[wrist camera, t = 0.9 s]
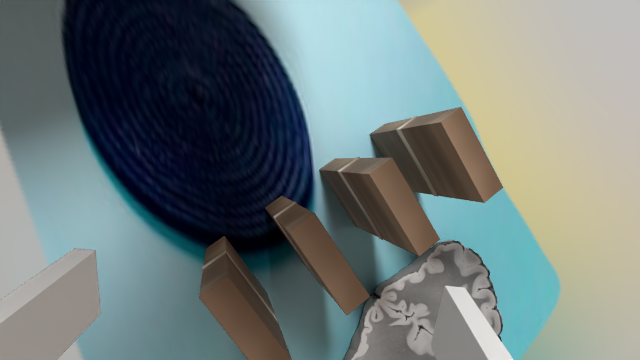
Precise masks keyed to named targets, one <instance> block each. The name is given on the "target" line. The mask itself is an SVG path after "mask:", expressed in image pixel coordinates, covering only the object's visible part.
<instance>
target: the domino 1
mask: <svg viewBox="0 0 640 360" xmlns="http://www.w3.org/2000/svg"><path fill="white" fill-rule="evenodd" d="M202 270H203V274H202V281H201V289H200V296H199V298H200V300H201V301H202V302H203V303H204V305H205V306H206V307H207V308H208V310H209V311H210V312H211V313H212V315H213V316H214V317H215V318H216V320H217V321H218V322H219V323H220V325H221V326H222V327H223V329H224V330H225V331H226V332H227V334H228V335H229V336H230V337H231V339H232V340H233V341H234V342H235V344H236V345H237V346H238V347H239V349H240V350H241V351H242V352H243V354H244V355H245V356H246V357H247V359H248V360H292V359H291V357H290V354H289V351H288V349H287V346H286V343H285V341H284V338H283V335H282V332H281V330H280V327H279V324H278V320H277V318H276V316H275V314H274V311H273V308H272V306H271V303H270V300H269V298H268V295H267V293H266V291H265V290H264V289H263V287H262V286H261V285H260V283H259V282H258V280H257V279H256V278H255V276H254V275H253V274H252V272H251V271H250V270H249V268H248V267H247V266H246V264H245V263H244V262H243V260H242V259H241V258H240V256H239V255H238V253H237V252H236V251H235V249H234V248H233V247H232V245H231V244H230V243H229V241H228V240H227V239H226V237H225V236H224V237H222V238H221V239H219V240H218V241H216V242H215V243H214V244H212V245H211V246H209V247H208V248H206V252H205V259H204V266H203V267H202Z"/></svg>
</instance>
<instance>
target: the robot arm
mask: <svg viewBox="0 0 640 360" xmlns="http://www.w3.org/2000/svg"><path fill="white" fill-rule="evenodd" d="M100 314H101V312H100V300H99V288H98V275H97V263H96V250H86V249H76V248H74V249H73V250H72V251H70V252H69V253H67V254H66V255H64V256H63V257H61V258H60V259H59V260H57V261H56V262H54V263H53V264H51V265H50V266H48V267H47V268H46V269H44V270H43V271H42V272H40V273H39V274H37V275H35V276H34V277H33V278H31V279H30V280H28V281H27V282H25V283H24V284H22V285H21V286H20V287H18V288H17V289H15V290H14V291H12V292H11V293H10V294H8V295H7V296H5V297H4V298H2V299H1V300H0V360H57V359H58V358H59V357H60V356H61V355H62V354H63V353H64V352H65V351H66V350H67V349H68V348H69V347H70V346H71V345H72V343H73V342H74V341H75V340H76V339H77V338H78V337H79V336H80V335H81V334H82V333H83V332H84V331H85V330H86V328H87V327H88V326H89V325H90V324H91V323H92V322H93V321H94V320H95V319H96V318H97V317H98V316H99V315H100ZM431 348H432V350H433V353H434V355H435V358H436V360H513V358H512V357H511V355H510V354H509V352H508V351H507V349H506V348H505V346H504V345H503V344H502V342H501V341H500V339H499V338H498V336H497V335H496V333H495V332H494V330H493V329H492V327H491V326H490V324H489V323H488V321H487V320H486V318H485V317H484V315H483V314H482V312H481V311H480V309H479V308H478V307H477V305H476V304H475V302H474V301H473V299H472V298H471V296H470V295H469V293H468V292H467V290H466V289H465V288H463V287H453V286H445V287H444V291H443V296H442V300H441V304H440V308H439V312H438V316H437V320H436V324H435V329H434V333H433V337H432V341H431Z"/></svg>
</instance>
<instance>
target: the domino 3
mask: <svg viewBox="0 0 640 360" xmlns="http://www.w3.org/2000/svg"><path fill="white" fill-rule="evenodd" d="M320 172H321V173H322V175H323V177H324V178H325V180H326V181H327V183H328V184H329V186H330V187H331V189H332V191H333V192H334V194H335V195H336V197H337V198H338V200H339V201H340V203H341V205H342V206H343V208H344V209H345V211H346V212H347V214H348V216H349V217H350V219H351V220H352V222H353V223H354V225H355V226H356V227H358V228H361V229H363V230H365V231H367V232H369V233H371V234H373V235H375V236H377V237H379V238H380V239H382V240H383V239H384V240H386V241H388V242H390V243H392V244H394V245H396V246H399V247H401V248H403V249H405V250H407V251H409V252H411V253H413V254H415V255H418V256H420V255H422V254H423V253H424V252H425V251H427V250H428V249H429V248H430V247H431V246H433V245H434V244H435V243H436V242H437V241H439V240H440V238H439V237H438V235H437V233H436V231H435V230H434V228H433V226H432V225H431V223H430V221H429V219H428V218H427V216H426V214H425V213H424V211H423V209H422V208H421V206H420V204H419V202H418V201H417V199H416V197H415V196H414V194H413V192H412V190H411V189H410V187H409V185H408V184H407V182H406V180H405V178H404V177H403V175H402V173H401V172H400V170H399V168H398V167H397V165H396V163H395V161H394V160H393V158H360V157H357V158H343V159H334V160H332V161H331V162H330V163H328V164H327V165H325V166H324V167H322V168H321V169H320Z"/></svg>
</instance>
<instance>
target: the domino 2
mask: <svg viewBox="0 0 640 360" xmlns="http://www.w3.org/2000/svg"><path fill="white" fill-rule="evenodd" d="M265 209H266V210H267V212H268V213H269V215H270V216H271V217H272V219H273V220H274V222H275V223H276V225H277V226H278V227H279V229H280V230H281V232H282V233H283V235H284V236H285V237H286V239H287V240H288V242H289V243H290V245H291V246H292V248H293V249H294V250H295V252H296V253H297V255H298V256H299V258H300V259H301V260H302V262H303V263H304V265H305V266H306V267H307V268H308V270H309V271H310V272H311V273H312V274H313V275H314V277H315V278H316V279H317V281H318V282H319V284H320V285H321V286H322V287H324V289H325V290H326V291H327V292H328V293H329V295H330V296H331V297H332V298H333V299H334V301H335V302H336V303H337V304H338V305H339V307H340V308H341V309H342V310H343V311H344V313H345V314H346V315H348V314H350V313H351V312H352V311H353V310H354V309H356V308H357V307H358V306H359V305H361V304H362V303H363V302H364V301H365V300H367V299H368V298H369V297H370V296H369V294H368V293H367V291H366V290H365V288H364V287H363V285H362V284H361V282H360V281H359V279H358V278H357V276H356V275H355V273H354V272H353V270H352V269H351V267H350V266H349V264H348V263H347V261H346V260H345V258H344V257H343V255H342V254H341V252H340V250H339V249H338V247H337V246H336V244H335V243H334V241H333V240H332V238H331V237H330V235H329V234H328V232H327V231H326V229H325V228H324V226H323V225H322V223H321V222H320V220H319V219H318V217H317V216H316V214H315V213H313V212H311V211H309V210H307V209H306V208H304V207H302V206H300V205H298V204H297V203H296V202H293V201H291V200H289V199H287V198H285V197H283V196H281V197H279V198H278V199H277V200H275V201H274V202H272V203H271V204H269V205H268V206H267V207H265Z"/></svg>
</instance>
